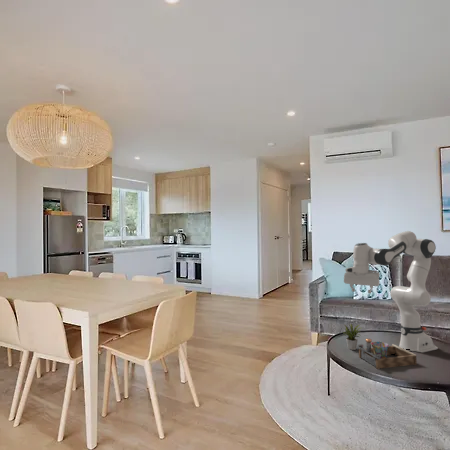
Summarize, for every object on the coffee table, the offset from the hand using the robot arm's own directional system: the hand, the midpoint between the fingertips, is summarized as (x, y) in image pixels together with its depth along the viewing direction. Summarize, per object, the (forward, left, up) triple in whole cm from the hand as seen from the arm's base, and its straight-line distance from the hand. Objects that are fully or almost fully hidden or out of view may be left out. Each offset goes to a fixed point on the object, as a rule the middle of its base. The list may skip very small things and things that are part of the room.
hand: (361, 292), depth 203 cm
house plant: (-3, -14, -40) cm, 42 cm away
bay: (-9, +9, -39) cm, 41 cm away
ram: (+2, +9, -39) cm, 40 cm away
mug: (-5, +9, -40) cm, 41 cm away
